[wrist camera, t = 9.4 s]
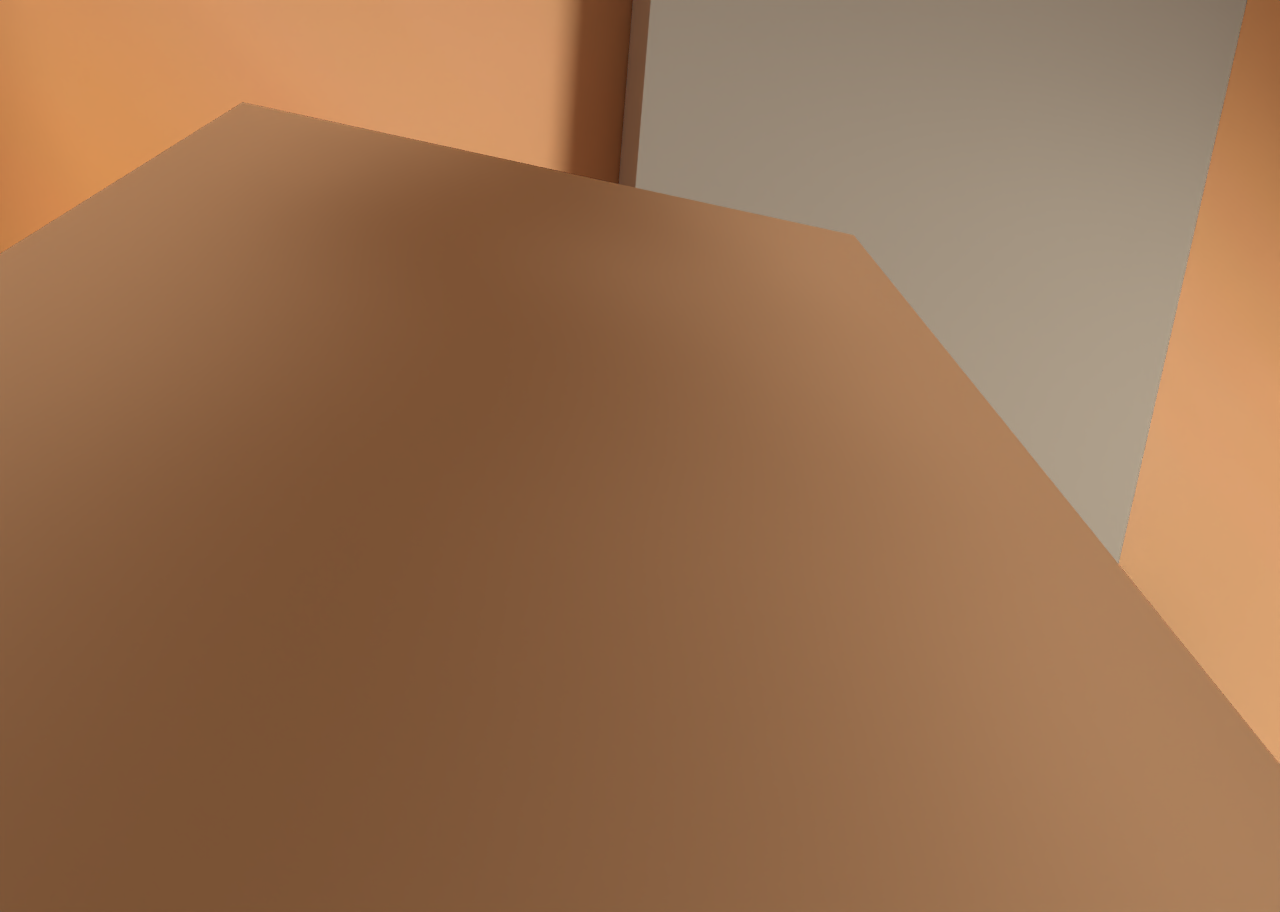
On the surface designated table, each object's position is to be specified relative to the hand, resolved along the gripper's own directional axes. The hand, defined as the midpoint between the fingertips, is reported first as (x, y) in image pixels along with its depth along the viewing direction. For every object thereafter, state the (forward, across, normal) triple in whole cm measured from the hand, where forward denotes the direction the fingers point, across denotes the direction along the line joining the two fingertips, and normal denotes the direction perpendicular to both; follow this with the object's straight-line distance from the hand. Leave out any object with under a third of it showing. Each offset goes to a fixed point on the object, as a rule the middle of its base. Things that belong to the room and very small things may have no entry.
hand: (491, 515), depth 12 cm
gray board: (+13, +8, +1) cm, 16 cm away
